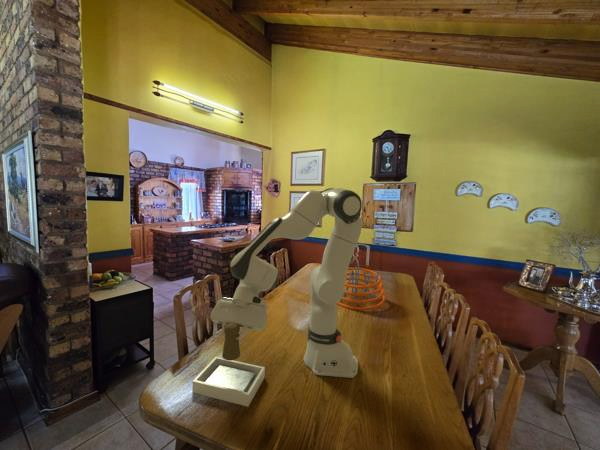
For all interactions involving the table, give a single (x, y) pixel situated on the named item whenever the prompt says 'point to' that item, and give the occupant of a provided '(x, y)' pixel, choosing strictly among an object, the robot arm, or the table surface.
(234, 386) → the tin box
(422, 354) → the table surface
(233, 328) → the cork
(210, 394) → the tote
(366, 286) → the toy basket
